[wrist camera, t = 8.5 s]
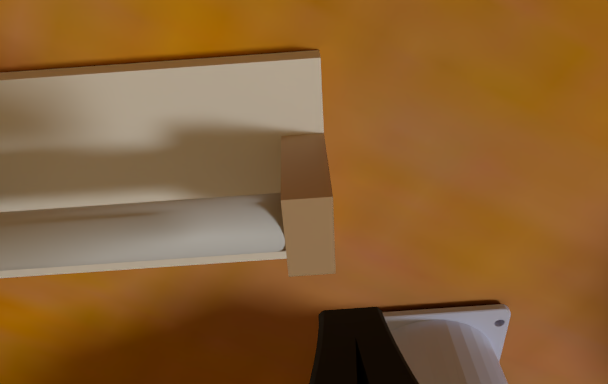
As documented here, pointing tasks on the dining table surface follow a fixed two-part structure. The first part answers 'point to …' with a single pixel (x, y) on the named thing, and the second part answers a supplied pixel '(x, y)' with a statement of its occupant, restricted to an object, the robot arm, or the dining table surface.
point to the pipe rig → (165, 166)
